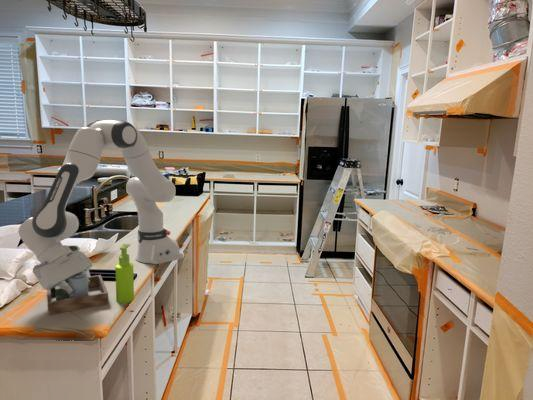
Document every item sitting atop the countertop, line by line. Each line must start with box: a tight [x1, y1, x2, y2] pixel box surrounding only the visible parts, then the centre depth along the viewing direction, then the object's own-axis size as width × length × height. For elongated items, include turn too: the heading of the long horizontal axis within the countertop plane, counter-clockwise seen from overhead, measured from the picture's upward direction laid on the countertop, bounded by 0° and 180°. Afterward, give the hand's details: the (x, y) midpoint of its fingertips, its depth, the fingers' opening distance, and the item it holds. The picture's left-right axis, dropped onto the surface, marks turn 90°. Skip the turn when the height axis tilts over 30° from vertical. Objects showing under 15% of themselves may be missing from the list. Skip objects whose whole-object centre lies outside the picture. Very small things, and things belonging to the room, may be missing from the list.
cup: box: [68, 273, 90, 299], centre depth 126 cm, size 6×6×9 cm
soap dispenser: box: [115, 243, 135, 304], centre depth 128 cm, size 6×7×20 cm
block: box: [54, 283, 69, 301], centre depth 129 cm, size 4×4×4 cm
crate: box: [46, 274, 109, 316], centre depth 128 cm, size 18×18×4 cm
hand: (80, 287), depth 126 cm, fingers closed on cup, 6 cm apart
